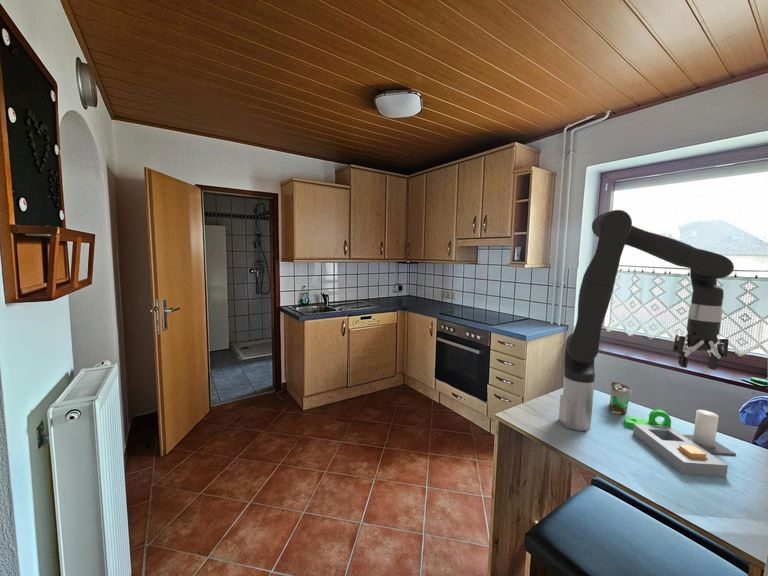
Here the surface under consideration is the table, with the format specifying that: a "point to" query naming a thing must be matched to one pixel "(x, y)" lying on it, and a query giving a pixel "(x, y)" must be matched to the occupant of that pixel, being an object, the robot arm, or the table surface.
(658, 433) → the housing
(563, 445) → the table surface
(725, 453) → the mat
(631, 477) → the table surface
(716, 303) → the robot arm
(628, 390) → the food container
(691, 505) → the table surface
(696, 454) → the orange cube
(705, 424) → the white upright cylinder
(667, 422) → the mechanical part
